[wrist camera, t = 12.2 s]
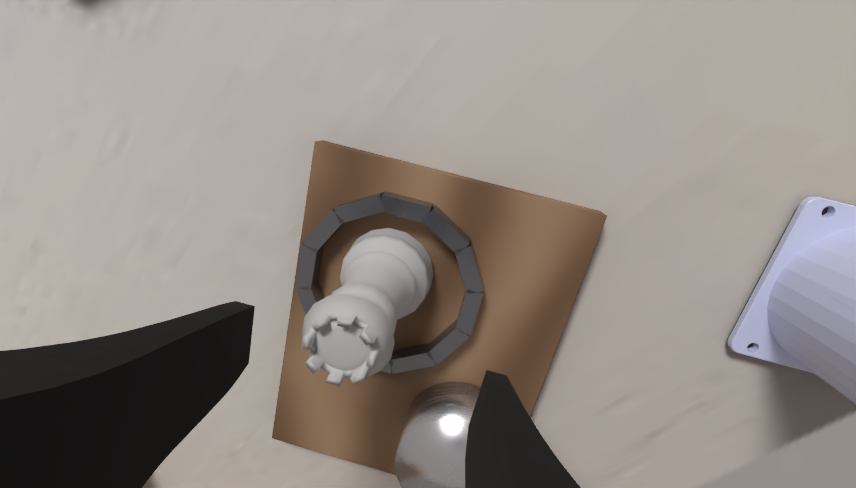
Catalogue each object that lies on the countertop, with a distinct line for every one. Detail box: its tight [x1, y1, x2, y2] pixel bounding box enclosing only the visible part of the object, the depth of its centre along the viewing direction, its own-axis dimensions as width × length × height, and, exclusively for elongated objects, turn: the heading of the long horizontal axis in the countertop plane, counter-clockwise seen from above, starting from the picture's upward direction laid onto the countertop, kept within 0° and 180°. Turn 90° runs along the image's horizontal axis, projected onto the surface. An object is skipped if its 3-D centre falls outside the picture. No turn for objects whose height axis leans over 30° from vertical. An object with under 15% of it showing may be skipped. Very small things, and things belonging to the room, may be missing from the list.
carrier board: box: [272, 141, 607, 475], centre depth 22 cm, size 14×18×1 cm
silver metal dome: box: [395, 382, 481, 488], centre depth 22 cm, size 6×6×3 cm
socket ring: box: [295, 191, 484, 374], centre depth 20 cm, size 9×9×1 cm
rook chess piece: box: [301, 228, 433, 387], centre depth 17 cm, size 4×4×8 cm
